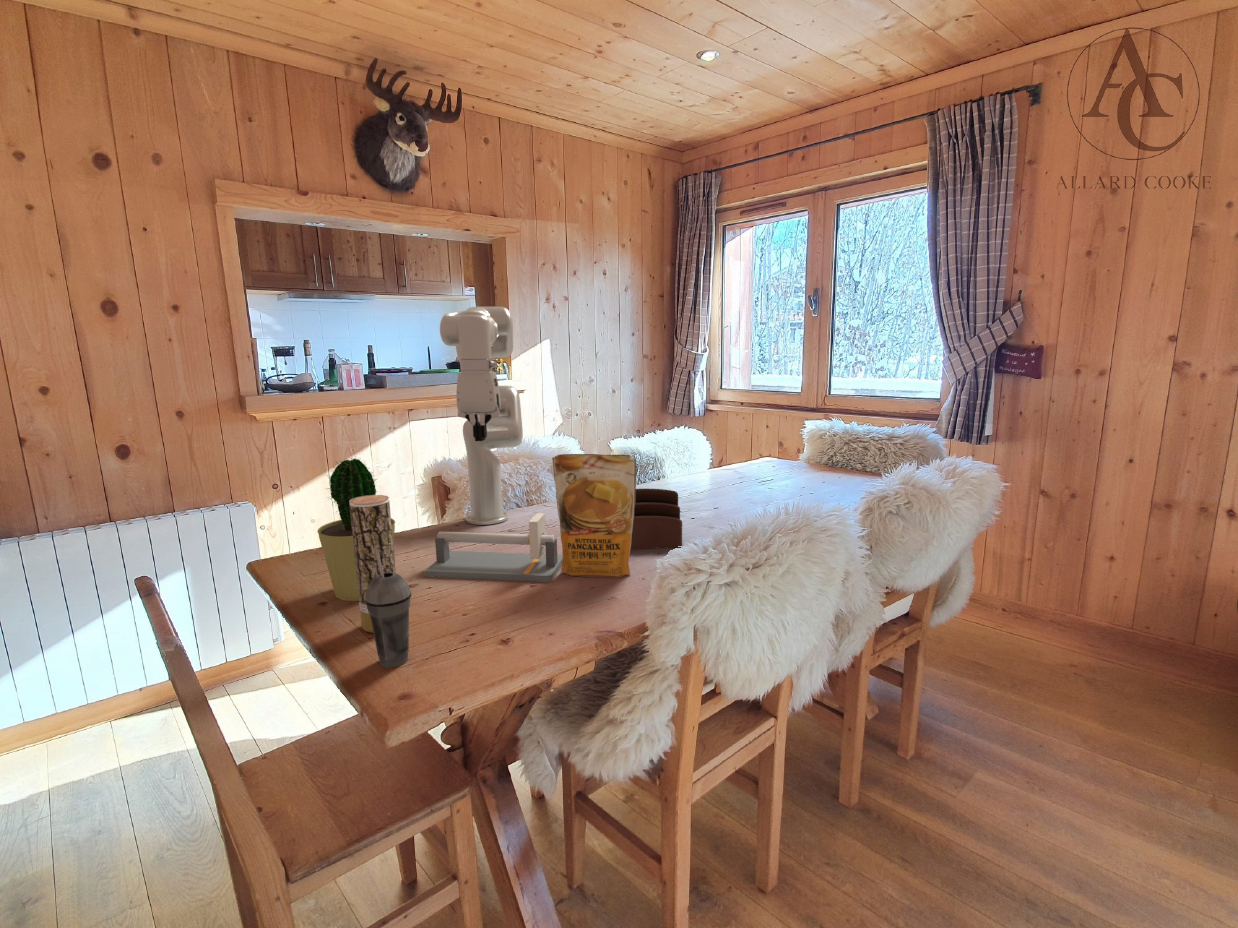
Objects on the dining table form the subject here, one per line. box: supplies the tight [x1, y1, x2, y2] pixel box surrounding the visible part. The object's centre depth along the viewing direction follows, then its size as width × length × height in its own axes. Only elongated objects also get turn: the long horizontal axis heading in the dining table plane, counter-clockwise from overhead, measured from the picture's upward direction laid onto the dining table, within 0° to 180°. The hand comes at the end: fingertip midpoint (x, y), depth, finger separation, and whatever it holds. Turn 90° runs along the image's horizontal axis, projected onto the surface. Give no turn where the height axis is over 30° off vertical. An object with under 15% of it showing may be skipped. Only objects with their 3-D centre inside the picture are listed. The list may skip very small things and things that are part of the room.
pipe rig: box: [424, 531, 562, 583], centre depth 145 cm, size 14×30×9 cm, turn 82°
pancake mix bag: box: [551, 453, 638, 579], centre depth 140 cm, size 7×19×28 cm, turn 83°
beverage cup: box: [365, 550, 412, 668], centre depth 102 cm, size 7×7×20 cm
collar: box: [528, 512, 547, 559], centre depth 143 cm, size 7×2×9 cm, turn 172°
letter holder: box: [631, 488, 683, 549], centre depth 162 cm, size 10×20×14 cm, turn 91°
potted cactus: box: [317, 456, 396, 602], centre depth 131 cm, size 15×15×30 cm
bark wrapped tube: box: [349, 494, 397, 634], centre depth 114 cm, size 7×7×25 cm
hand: (480, 440), depth 153 cm, fingers closed
